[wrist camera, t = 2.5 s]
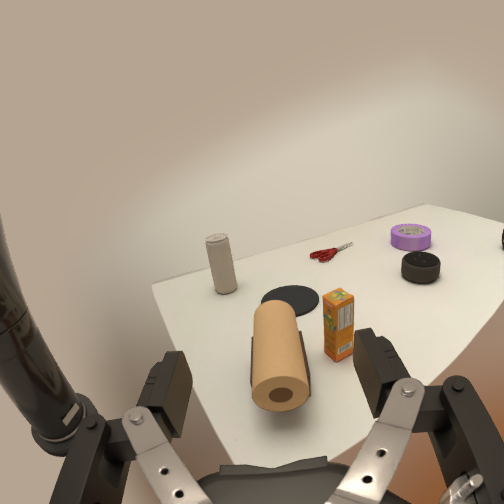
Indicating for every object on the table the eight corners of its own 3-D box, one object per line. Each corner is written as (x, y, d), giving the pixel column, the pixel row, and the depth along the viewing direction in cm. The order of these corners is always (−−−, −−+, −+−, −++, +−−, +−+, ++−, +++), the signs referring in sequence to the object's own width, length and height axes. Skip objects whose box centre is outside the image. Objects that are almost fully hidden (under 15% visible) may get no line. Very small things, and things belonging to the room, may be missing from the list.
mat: (261, 321, 50) (261, 318, 50) (261, 291, 61) (260, 288, 61) (323, 312, 50) (323, 310, 50) (313, 284, 60) (313, 282, 60)
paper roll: (255, 414, 27) (248, 379, 25) (256, 335, 40) (251, 302, 38) (309, 408, 27) (309, 373, 25) (296, 331, 40) (293, 297, 38)
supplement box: (321, 352, 40) (320, 293, 37) (340, 343, 41) (341, 285, 38) (334, 364, 37) (335, 304, 34) (353, 354, 38) (357, 295, 35)
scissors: (308, 257, 73) (308, 253, 73) (345, 241, 79) (345, 238, 79) (323, 262, 69) (322, 259, 68) (360, 246, 75) (359, 242, 74)
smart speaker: (431, 265, 58) (433, 249, 57) (444, 283, 50) (446, 265, 49) (397, 267, 60) (398, 251, 59) (406, 286, 52) (407, 268, 51)
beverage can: (213, 287, 65) (202, 237, 61) (234, 282, 66) (224, 231, 62) (218, 297, 61) (207, 243, 57) (240, 290, 62) (230, 237, 58)
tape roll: (396, 252, 68) (397, 238, 66) (386, 237, 78) (386, 224, 77) (436, 249, 65) (437, 235, 63) (422, 235, 75) (423, 222, 74)
